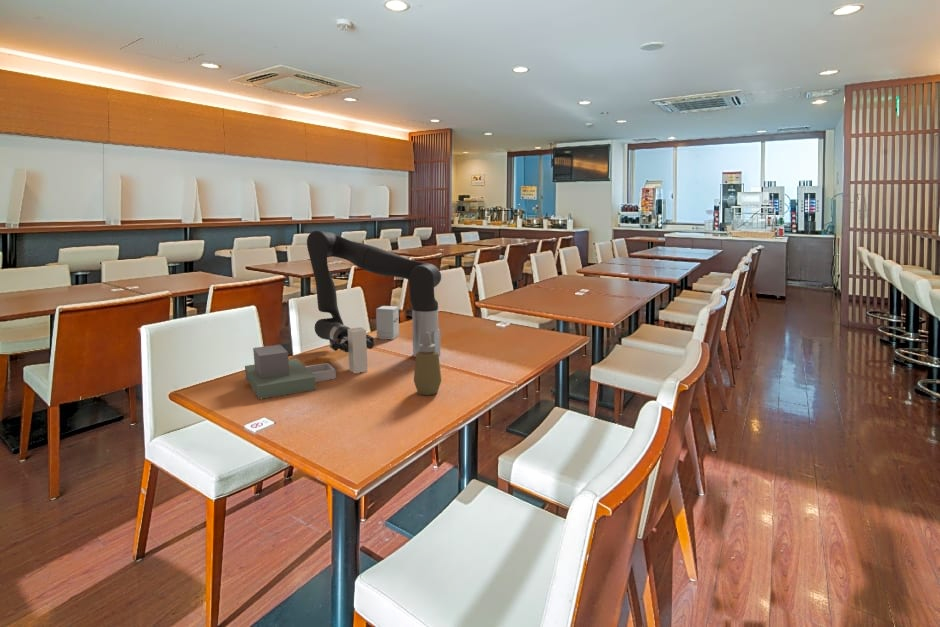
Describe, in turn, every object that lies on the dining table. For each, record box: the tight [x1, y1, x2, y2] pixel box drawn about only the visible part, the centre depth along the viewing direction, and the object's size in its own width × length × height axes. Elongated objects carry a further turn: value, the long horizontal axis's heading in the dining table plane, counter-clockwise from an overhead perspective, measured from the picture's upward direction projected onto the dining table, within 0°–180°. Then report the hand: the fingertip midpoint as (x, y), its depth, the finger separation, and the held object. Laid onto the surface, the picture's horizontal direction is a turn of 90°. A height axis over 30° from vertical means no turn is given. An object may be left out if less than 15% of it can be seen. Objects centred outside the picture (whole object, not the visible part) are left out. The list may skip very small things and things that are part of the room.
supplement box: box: [375, 305, 400, 341], centre depth 217 cm, size 7×7×13 cm
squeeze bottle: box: [413, 332, 442, 396], centre depth 153 cm, size 8×8×18 cm
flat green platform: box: [244, 344, 337, 400], centre depth 163 cm, size 24×22×11 cm
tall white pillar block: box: [348, 327, 369, 374], centre depth 173 cm, size 5×5×14 cm
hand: (359, 347), depth 171 cm, fingers open, 7 cm apart
